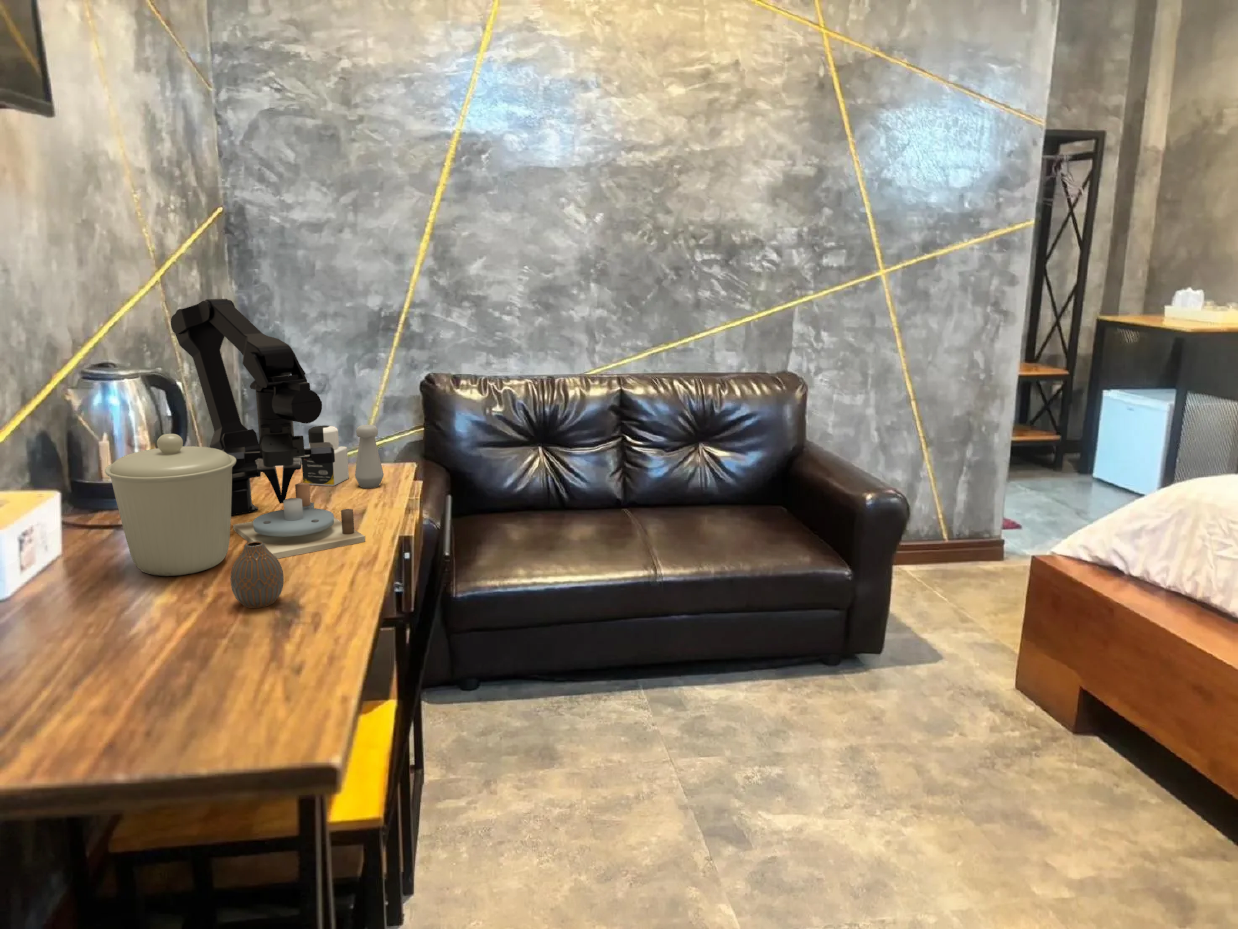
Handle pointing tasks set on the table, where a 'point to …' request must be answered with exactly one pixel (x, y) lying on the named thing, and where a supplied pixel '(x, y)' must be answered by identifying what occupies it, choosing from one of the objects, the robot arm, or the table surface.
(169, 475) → the canister
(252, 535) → the board
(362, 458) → the salt shaker
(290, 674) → the table surface
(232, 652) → the table surface
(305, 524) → the flange plate
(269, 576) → the vase
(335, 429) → the medicine bottle
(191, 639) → the table surface
